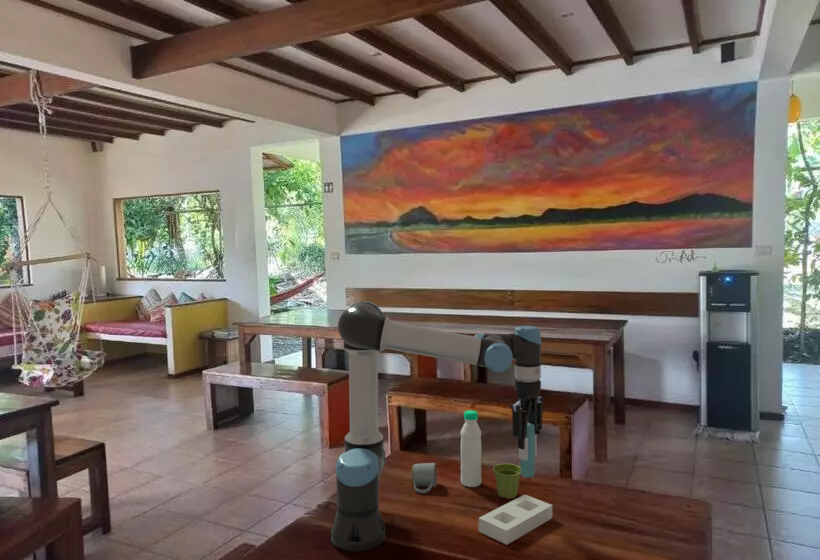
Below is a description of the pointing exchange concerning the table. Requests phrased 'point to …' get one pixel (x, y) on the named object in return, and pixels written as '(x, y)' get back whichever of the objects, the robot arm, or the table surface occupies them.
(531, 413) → the robot arm
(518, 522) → the hole block
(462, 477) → the water bottle
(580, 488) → the table surface
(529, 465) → the teal pin
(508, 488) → the plant pot
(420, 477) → the ceramic mug
